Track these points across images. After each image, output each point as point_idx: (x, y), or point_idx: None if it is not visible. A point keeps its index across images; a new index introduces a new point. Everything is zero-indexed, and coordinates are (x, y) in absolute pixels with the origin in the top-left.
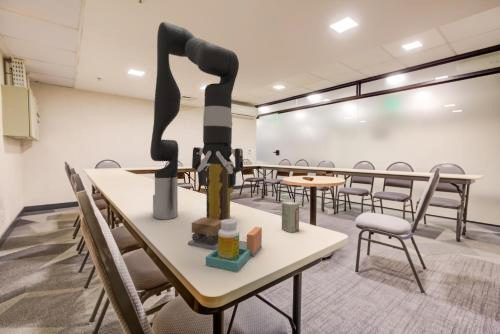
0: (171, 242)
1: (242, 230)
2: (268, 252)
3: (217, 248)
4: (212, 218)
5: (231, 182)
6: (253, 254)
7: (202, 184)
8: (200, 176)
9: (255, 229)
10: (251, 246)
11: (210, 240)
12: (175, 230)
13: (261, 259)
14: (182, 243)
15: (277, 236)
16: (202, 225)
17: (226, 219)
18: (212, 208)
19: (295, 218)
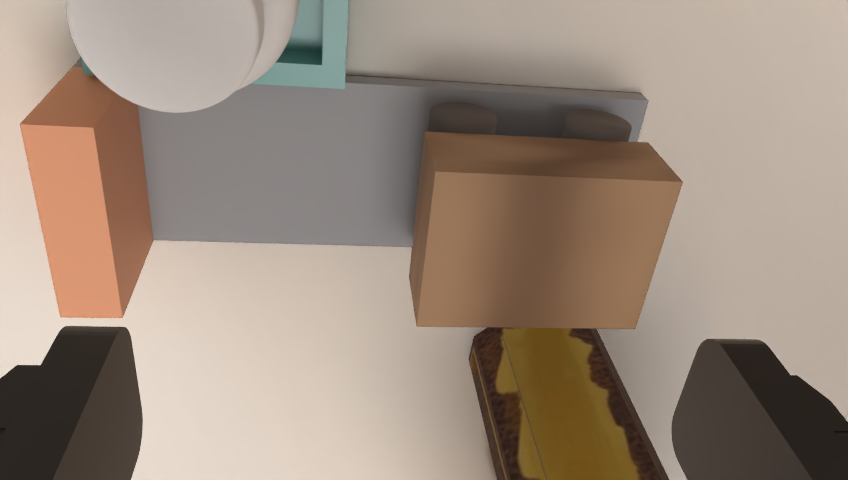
0: (776, 89)
1: (359, 422)
2: (14, 162)
3: (343, 2)
4: (571, 391)
5: (20, 423)
6: (75, 66)
7: (710, 356)
8: (840, 464)
9: (87, 261)
10: (73, 86)
11: (459, 112)
12: (824, 280)
13: (3, 38)
14: (688, 100)
15: None
16: (565, 171)
17: (227, 81)
18: (598, 457)
19: None
